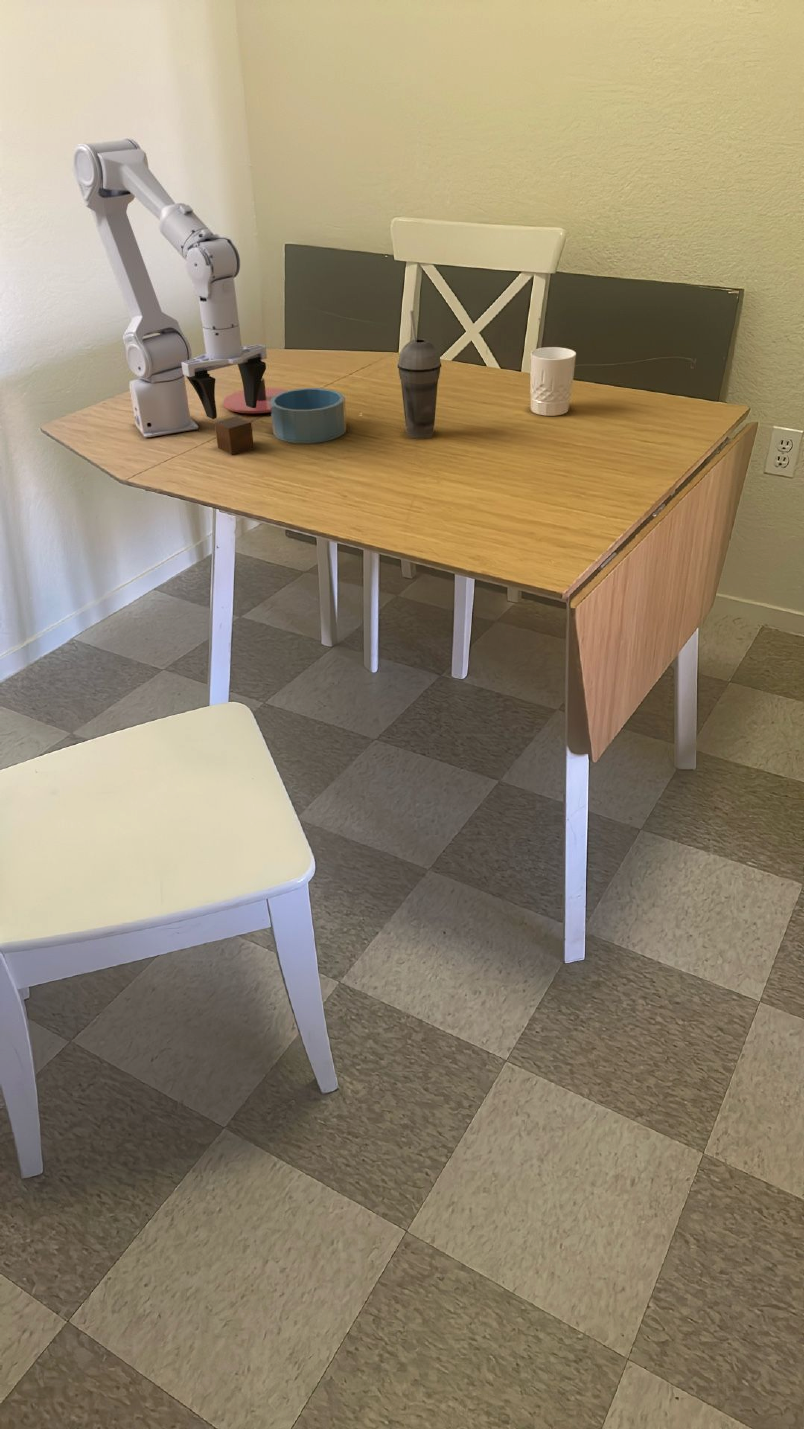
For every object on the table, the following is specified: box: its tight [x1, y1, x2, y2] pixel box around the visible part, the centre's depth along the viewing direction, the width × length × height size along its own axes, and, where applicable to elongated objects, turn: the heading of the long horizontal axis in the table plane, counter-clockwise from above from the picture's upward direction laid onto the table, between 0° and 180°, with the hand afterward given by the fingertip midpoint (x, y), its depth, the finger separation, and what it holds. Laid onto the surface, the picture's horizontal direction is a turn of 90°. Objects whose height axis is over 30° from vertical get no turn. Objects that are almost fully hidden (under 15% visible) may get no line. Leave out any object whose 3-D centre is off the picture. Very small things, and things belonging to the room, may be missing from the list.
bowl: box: [270, 387, 347, 444], centre depth 168 cm, size 13×13×6 cm
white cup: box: [529, 346, 577, 417], centre depth 172 cm, size 8×8×10 cm
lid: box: [222, 377, 289, 414], centre depth 180 cm, size 14×14×5 cm
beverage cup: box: [397, 310, 442, 440], centre depth 161 cm, size 7×7×20 cm
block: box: [214, 415, 255, 455], centre depth 162 cm, size 4×4×4 cm
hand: (231, 411), depth 160 cm, fingers open, 7 cm apart
